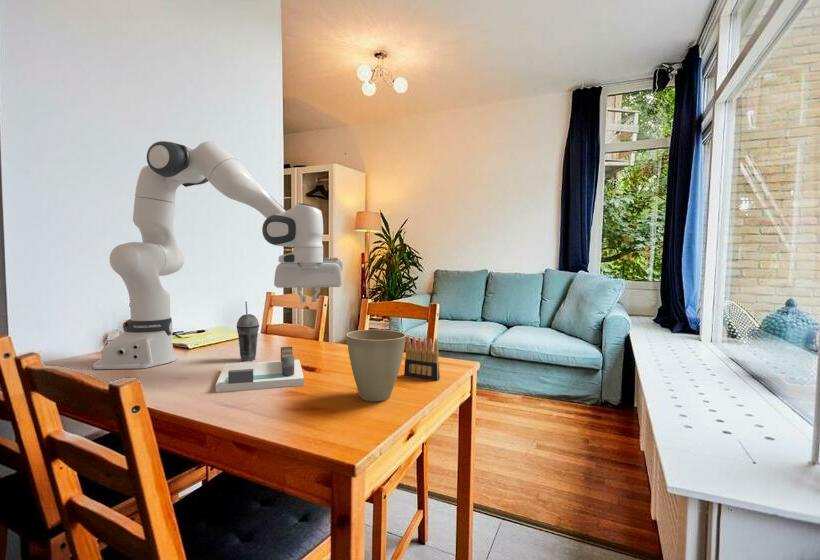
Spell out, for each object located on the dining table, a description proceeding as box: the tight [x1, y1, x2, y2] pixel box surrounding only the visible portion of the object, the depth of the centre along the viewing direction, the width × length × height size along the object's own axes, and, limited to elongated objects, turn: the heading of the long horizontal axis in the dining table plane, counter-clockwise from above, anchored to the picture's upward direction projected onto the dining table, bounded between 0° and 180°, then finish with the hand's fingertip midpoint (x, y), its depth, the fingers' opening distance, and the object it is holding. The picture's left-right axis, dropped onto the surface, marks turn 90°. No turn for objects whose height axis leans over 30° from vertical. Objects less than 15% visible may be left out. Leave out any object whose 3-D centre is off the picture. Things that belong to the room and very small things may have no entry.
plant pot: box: [346, 329, 407, 403], centre depth 105 cm, size 15×15×16 cm
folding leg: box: [280, 346, 295, 376], centre depth 123 cm, size 18×3×5 cm, turn 18°
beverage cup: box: [236, 301, 260, 362], centre depth 141 cm, size 7×7×20 cm
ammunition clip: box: [403, 335, 441, 382], centre depth 123 cm, size 11×2×12 cm, turn 64°
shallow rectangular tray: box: [215, 359, 305, 393], centre depth 121 cm, size 22×22×5 cm
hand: (308, 302), depth 129 cm, fingers closed
